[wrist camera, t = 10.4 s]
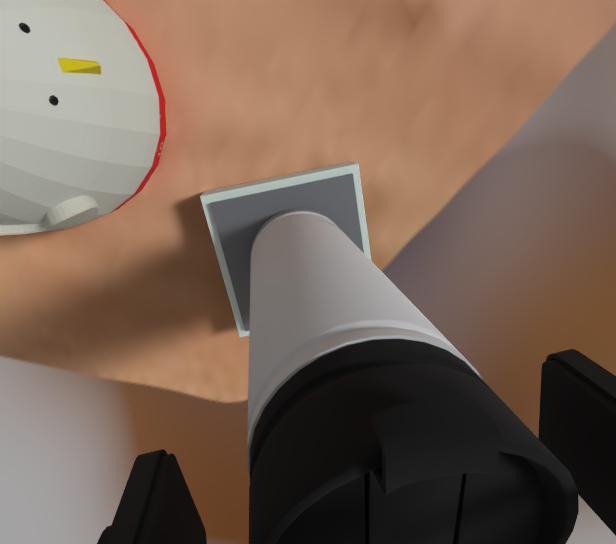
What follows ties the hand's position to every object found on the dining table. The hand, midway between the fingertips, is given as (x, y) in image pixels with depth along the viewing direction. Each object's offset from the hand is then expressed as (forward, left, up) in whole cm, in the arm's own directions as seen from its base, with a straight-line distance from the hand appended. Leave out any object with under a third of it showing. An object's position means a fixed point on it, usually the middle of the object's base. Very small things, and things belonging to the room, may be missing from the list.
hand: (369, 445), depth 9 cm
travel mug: (0, 0, -17) cm, 17 cm away
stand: (0, 0, -19) cm, 19 cm away
